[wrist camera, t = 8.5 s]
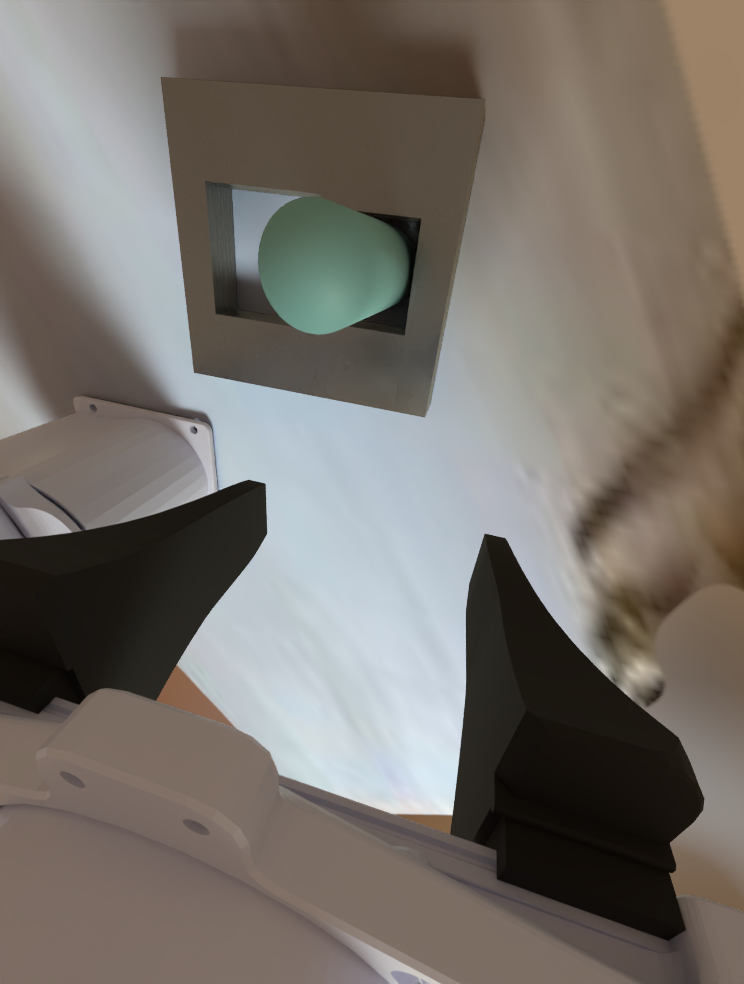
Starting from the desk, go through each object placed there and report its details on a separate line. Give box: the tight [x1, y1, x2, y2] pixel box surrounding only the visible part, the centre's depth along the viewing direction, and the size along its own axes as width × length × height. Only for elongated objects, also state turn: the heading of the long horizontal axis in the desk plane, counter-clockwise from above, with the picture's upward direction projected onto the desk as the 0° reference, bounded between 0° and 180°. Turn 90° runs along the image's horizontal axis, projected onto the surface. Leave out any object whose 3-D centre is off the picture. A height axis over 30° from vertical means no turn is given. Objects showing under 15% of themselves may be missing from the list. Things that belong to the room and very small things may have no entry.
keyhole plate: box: [161, 77, 485, 417], centre depth 18 cm, size 12×11×2 cm
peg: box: [258, 197, 416, 334], centre depth 15 cm, size 3×3×8 cm
